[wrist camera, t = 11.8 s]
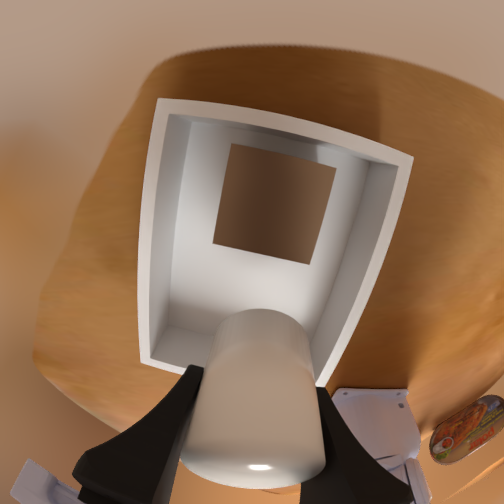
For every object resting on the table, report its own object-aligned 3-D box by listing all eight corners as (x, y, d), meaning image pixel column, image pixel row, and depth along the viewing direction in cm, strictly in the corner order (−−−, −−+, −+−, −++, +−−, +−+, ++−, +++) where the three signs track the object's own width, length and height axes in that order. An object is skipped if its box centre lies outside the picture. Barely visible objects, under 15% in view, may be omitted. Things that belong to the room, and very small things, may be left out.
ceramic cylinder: (326, 328, 13) (355, 450, 6) (281, 388, 15) (282, 493, 8) (233, 293, 12) (201, 420, 6) (201, 361, 14) (169, 469, 8)
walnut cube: (318, 163, 16) (336, 168, 12) (299, 235, 18) (309, 265, 14) (242, 146, 16) (231, 143, 12) (227, 219, 18) (212, 243, 14)
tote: (379, 154, 16) (413, 157, 12) (311, 356, 23) (318, 397, 18) (185, 110, 16) (158, 98, 12) (161, 325, 22) (140, 362, 18)
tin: (496, 385, 25) (516, 418, 17) (493, 394, 26) (512, 426, 18) (423, 432, 29) (437, 471, 21) (423, 438, 30) (436, 475, 22)
